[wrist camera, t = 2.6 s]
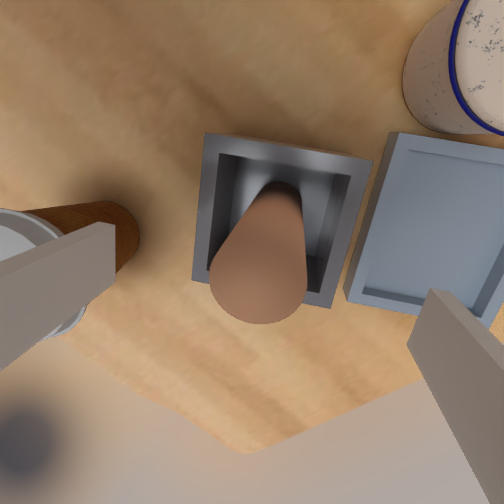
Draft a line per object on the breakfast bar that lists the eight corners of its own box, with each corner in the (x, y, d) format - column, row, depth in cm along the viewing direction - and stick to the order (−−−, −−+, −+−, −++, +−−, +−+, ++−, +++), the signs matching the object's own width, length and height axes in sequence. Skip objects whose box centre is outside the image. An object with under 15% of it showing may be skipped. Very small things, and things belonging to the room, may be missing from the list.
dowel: (259, 177, 26) (214, 226, 12) (306, 185, 25) (317, 245, 12) (252, 222, 27) (204, 313, 13) (296, 231, 27) (295, 332, 13)
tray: (389, 132, 24) (399, 132, 22) (550, 158, 23) (577, 161, 21) (342, 288, 29) (346, 301, 27) (472, 314, 28) (488, 330, 26)
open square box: (231, 133, 26) (204, 132, 18) (350, 153, 25) (373, 161, 18) (218, 243, 29) (191, 280, 22) (321, 264, 29) (330, 308, 21)
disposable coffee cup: (156, 192, 28) (66, 228, 17) (155, 282, 32) (79, 360, 21) (61, 176, 29) (-84, 201, 18) (69, 266, 33) (-47, 334, 22)
